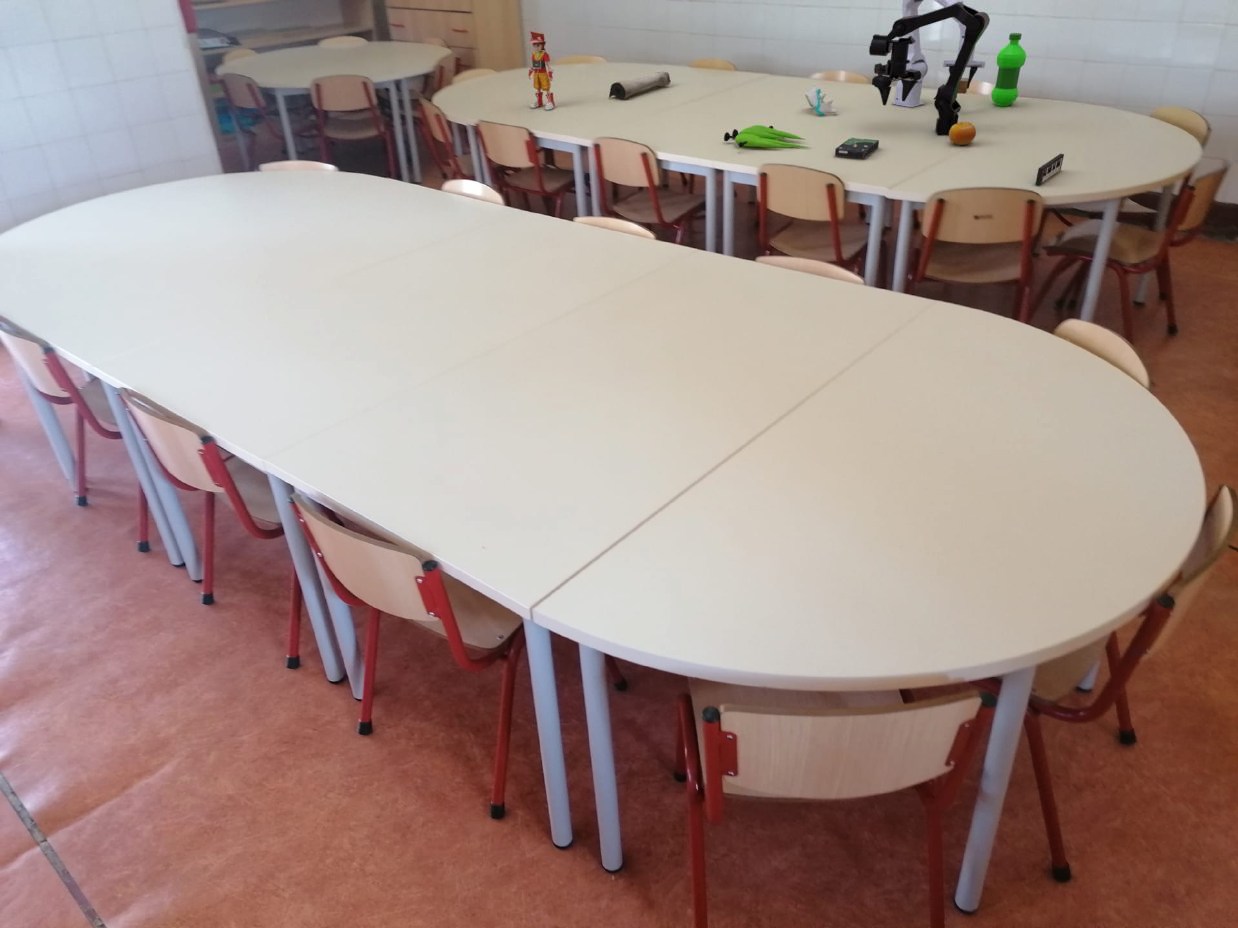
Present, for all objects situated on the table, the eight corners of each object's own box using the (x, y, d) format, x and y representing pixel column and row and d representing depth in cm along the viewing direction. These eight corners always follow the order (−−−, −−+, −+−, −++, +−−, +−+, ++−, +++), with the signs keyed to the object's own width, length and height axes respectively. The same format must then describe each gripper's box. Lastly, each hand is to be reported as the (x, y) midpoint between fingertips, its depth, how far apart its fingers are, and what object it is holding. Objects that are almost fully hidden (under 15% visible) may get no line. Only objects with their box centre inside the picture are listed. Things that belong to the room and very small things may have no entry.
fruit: (944, 129, 311) (958, 112, 304) (966, 137, 313) (980, 120, 306) (944, 146, 307) (958, 129, 300) (966, 154, 309) (980, 138, 302)
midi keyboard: (1039, 185, 269) (1043, 168, 266) (1035, 184, 270) (1038, 168, 267) (1060, 170, 279) (1064, 154, 277) (1056, 169, 280) (1060, 153, 277)
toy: (525, 109, 381) (517, 32, 364) (534, 104, 388) (527, 28, 371) (550, 110, 377) (543, 32, 360) (559, 105, 384) (553, 28, 367)
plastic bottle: (1022, 104, 346) (1036, 33, 332) (1005, 109, 342) (1018, 37, 328) (1000, 100, 353) (1012, 30, 339) (983, 104, 349) (995, 34, 335)
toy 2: (713, 146, 317) (792, 161, 304) (715, 131, 314) (794, 145, 301) (747, 132, 337) (821, 146, 325) (748, 118, 334) (824, 131, 322)
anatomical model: (800, 85, 355) (825, 78, 354) (804, 112, 360) (828, 105, 360) (810, 94, 342) (836, 87, 341) (813, 121, 348) (839, 114, 347)
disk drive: (864, 160, 299) (878, 148, 309) (864, 151, 297) (879, 139, 307) (834, 157, 304) (849, 145, 314) (835, 148, 302) (850, 136, 312)
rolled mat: (651, 76, 408) (662, 61, 399) (662, 93, 408) (674, 79, 400) (605, 92, 391) (616, 77, 383) (617, 110, 391) (628, 95, 383)
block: (966, 90, 338) (968, 78, 336) (965, 93, 334) (967, 81, 332) (953, 90, 340) (955, 78, 337) (952, 93, 336) (954, 80, 333)
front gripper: (902, 50, 326) (896, 95, 335) (863, 57, 318) (858, 103, 327) (925, 54, 318) (919, 100, 326) (885, 62, 310) (880, 109, 319)
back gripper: (988, 47, 329) (981, 86, 337) (946, 46, 334) (941, 85, 342) (986, 51, 324) (980, 90, 331) (944, 50, 329) (939, 89, 336)
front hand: (893, 103), depth 325 cm, fingers open, 9 cm apart
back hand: (960, 88), depth 336 cm, fingers closed on block, 5 cm apart
